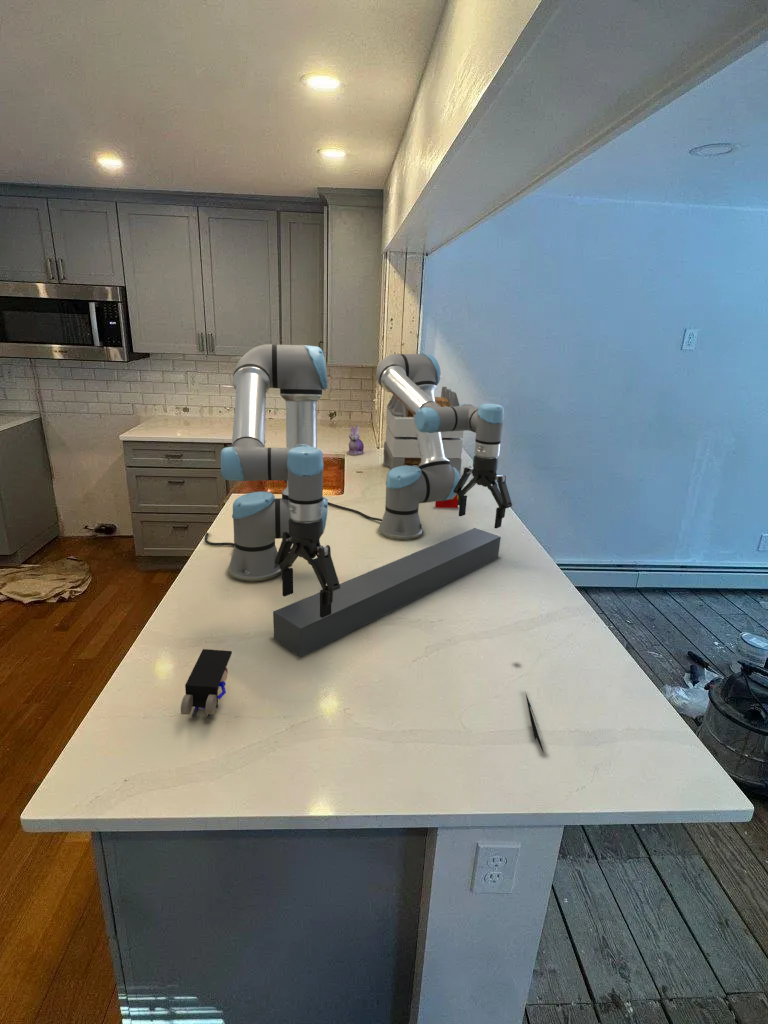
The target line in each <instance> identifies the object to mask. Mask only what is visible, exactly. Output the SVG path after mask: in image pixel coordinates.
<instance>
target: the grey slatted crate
mask: <svg viewBox="0 0 768 1024" xmlns="http://www.w3.org/2000/svg"><path fill="white" fill-rule="evenodd" d="M440 393H441V394H440V396H434V399H435V402H436V403H437V404H438V405H439V406H440V407H456V406H459V405H460V402H459V398H458V395H457V392H455V391H453V390H452V389H451V388H447V386H442V387H441V392H440ZM385 414H386V415H385V423H386V428H385V438H384V442H383V466H384V467H388V468H389V471H390V470H391V469H393V468H395V467H399V466H406V465H407V466H417V467H418V466H419V464H420V463H421V457H420V452H419V446H418V440H417V434H416V429H415V423H414V417H413V414H412V413H411V412H410V411H409V410H408V409H407V408H406V407H405V406H404V405H403V404H402V403H401V402H400V401H399V400H398V399H397V398H396V397H395V396H394V395H393V394H392V395H391V398H390V400H389V402H388V404H387V405H386V413H385ZM441 438H442V444H443V449H444V455H445V458H447V459H448V460H450V464H451V467H454V468H456V469H457V471H458V472H459V475H460V476H461V472H462V461H463V460H462V453H463V442H464V441H463V440H462V439H463V438H464V431H447V432H441Z"/></svg>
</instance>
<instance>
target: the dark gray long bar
mask: <svg viewBox="0 0 768 1024" xmlns="http://www.w3.org/2000/svg"><path fill="white" fill-rule="evenodd" d="M501 538H502V537H501V536H500V535H497V534H494V533H490V532H489V531H485V530H483V529H479V528H477V527H474V528H471V529H468V530H466V531H463V532H462V533H459V534H457V535H454V536H452V537H449V538H447V539H444V540H441V541H439V542H437V543H435V544H432V545H429V546H427V547H425V548H423V549H420V550H417V551H416V552H413V553H411V554H408V555H406V556H403V557H401V558H399V559H396V560H394V561H391V562H388V563H386V564H384V565H382V566H379V567H377V568H374V569H372V570H370V571H367V572H364V573H363V574H360V575H358V576H355V577H353V578H350V579H348V580H346V581H343V582H341V583H339V584H340V589H337V590H335V591H333V602H332V603H331V614H330V615H328V616H325V617H323V618H321V617H320V591H319V592H316V593H314V594H312V595H309V596H307V597H305V598H302V599H300V600H297V601H294V602H292V603H290V604H287V605H285V606H282V607H281V608H278V609H276V610H273V611H272V621H273V640H274V641H276V642H277V643H279V644H281V645H282V646H284V647H285V648H287V649H288V650H290V651H291V652H293V653H294V654H295V655H297V656H298V657H300V658H303V657H304V656H306V655H308V654H310V653H312V652H314V651H317V650H318V649H320V648H322V647H324V646H326V645H328V644H330V643H332V642H334V641H336V640H338V639H340V638H342V637H344V636H346V635H348V634H350V633H352V632H354V631H356V630H358V629H359V628H362V627H364V626H365V625H368V624H370V623H372V622H374V621H376V620H378V619H380V618H382V617H383V616H386V615H387V614H390V613H391V612H393V611H395V610H397V609H400V608H402V607H403V606H405V605H408V604H410V603H411V602H413V601H416V600H418V599H419V598H421V597H423V596H425V595H428V594H429V593H431V592H434V591H435V590H437V589H439V588H441V587H443V586H446V585H448V584H449V583H451V582H453V581H455V580H457V579H459V578H461V577H464V576H465V575H467V574H469V573H471V572H473V571H476V570H477V569H479V568H481V567H483V566H485V565H487V564H489V563H491V562H493V561H495V560H497V559H499V556H500V548H501V540H502V539H501Z"/></svg>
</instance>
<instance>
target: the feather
mask: <svg viewBox="0 0 768 1024" xmlns="http://www.w3.org/2000/svg"><path fill="white" fill-rule="evenodd" d="M525 697H526V698H525V699H526V703H527V708H528V714H529V719H530V723H531V728H532V733H533V738H534V740H537V742H538V744H539V746H540V749H541V751H542V753H545V751H544V749H543V746H542V741H541V739H543V737H544V736H543V734H541V735H542V736H539V733H542V730H541V729H539V731H538V728H539V727H540V725H539V723H538V721H537V719H536V716H535V713H534V711H533V708H532V705H531V703H530V700H529V697H528V694H527V692H526V691H525ZM536 725H537V726H536ZM540 737H541V739H540ZM544 744H545V743H544ZM544 746H547V745H546V744H545V745H544Z"/></svg>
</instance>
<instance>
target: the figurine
mask: <svg viewBox="0 0 768 1024" xmlns="http://www.w3.org/2000/svg"><path fill="white" fill-rule="evenodd" d="M359 428H360V425H359V424H357V425H356V426H355V427H354V426H353V425H351V426H350V433H349V435H348V438H349V442H348V455H353V456H356V455H362V454H364V448H365V447H364V442H363V440H361V438H360V436H361V435H360V434H359Z"/></svg>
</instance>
